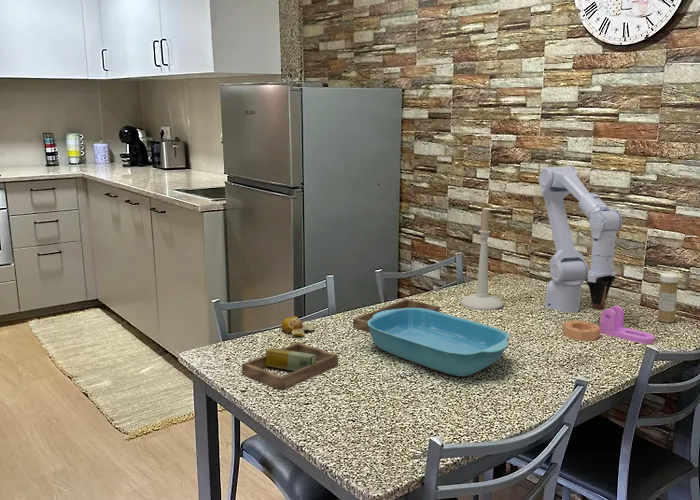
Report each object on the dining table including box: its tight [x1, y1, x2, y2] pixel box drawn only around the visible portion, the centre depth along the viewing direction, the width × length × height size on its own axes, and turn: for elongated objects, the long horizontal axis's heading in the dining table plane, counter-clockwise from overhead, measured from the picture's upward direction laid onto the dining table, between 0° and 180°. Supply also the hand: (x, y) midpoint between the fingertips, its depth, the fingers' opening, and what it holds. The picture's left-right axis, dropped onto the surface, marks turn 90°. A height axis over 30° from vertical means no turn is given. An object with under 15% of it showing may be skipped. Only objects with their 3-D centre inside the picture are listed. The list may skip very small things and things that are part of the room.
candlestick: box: [460, 208, 504, 311], centre depth 193 cm, size 13×13×30 cm
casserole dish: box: [367, 308, 510, 377], centre depth 156 cm, size 37×22×7 cm, turn 46°
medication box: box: [265, 347, 317, 372], centre depth 146 cm, size 12×3×4 cm, turn 69°
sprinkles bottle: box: [657, 272, 680, 323], centre depth 179 cm, size 5×5×14 cm
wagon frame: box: [352, 298, 441, 333], centre depth 180 cm, size 12×25×2 cm, turn 139°
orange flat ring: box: [561, 320, 601, 342], centre depth 169 cm, size 9×9×2 cm
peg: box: [591, 285, 607, 311], centre depth 176 cm, size 3×3×7 cm
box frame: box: [241, 342, 339, 391], centre depth 146 cm, size 13×18×2 cm
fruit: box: [280, 315, 316, 337], centre depth 171 cm, size 8×8×4 cm
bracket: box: [599, 305, 656, 345], centre depth 167 cm, size 13×6×7 cm, turn 43°
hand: (598, 302), depth 176 cm, fingers closed on peg, 3 cm apart
